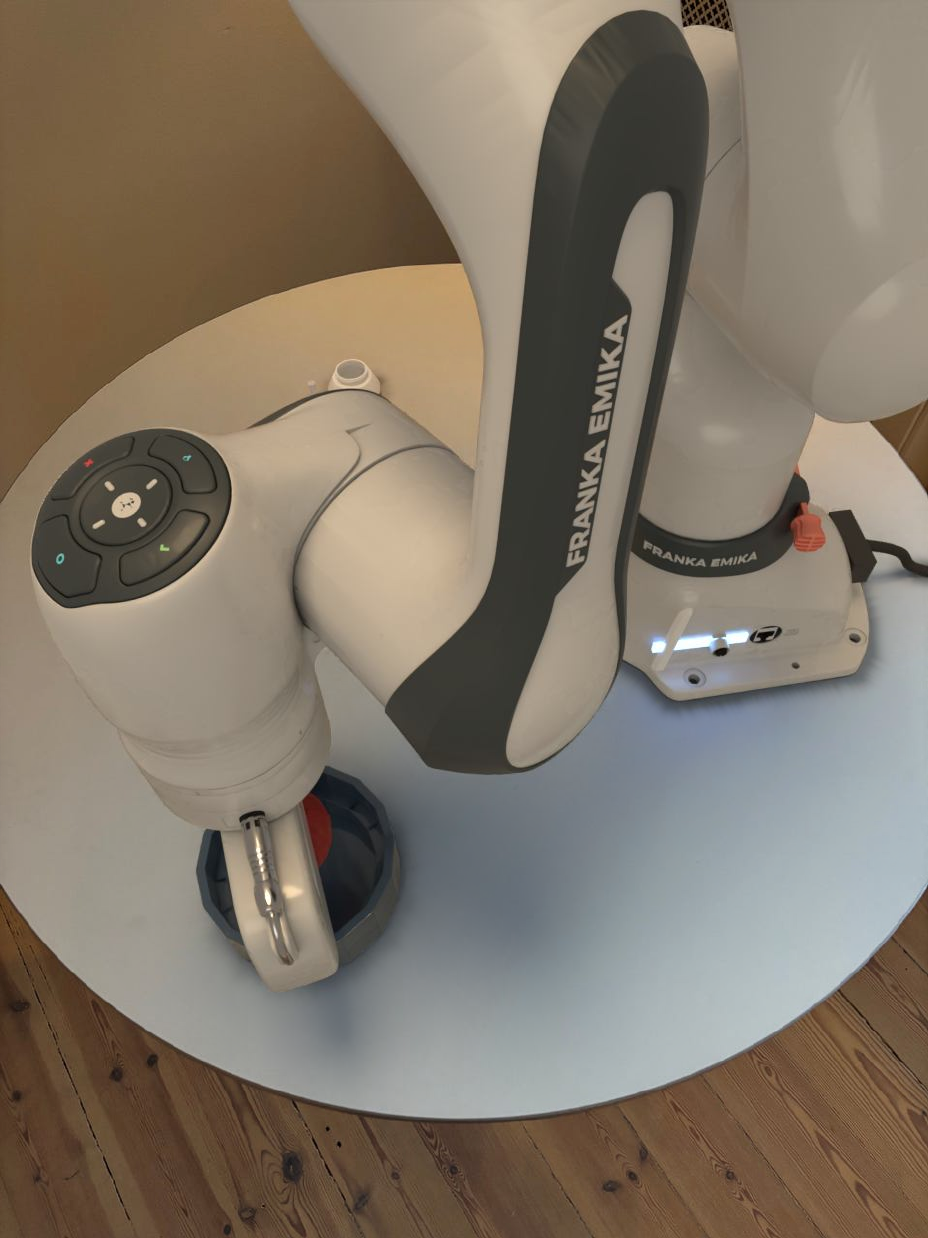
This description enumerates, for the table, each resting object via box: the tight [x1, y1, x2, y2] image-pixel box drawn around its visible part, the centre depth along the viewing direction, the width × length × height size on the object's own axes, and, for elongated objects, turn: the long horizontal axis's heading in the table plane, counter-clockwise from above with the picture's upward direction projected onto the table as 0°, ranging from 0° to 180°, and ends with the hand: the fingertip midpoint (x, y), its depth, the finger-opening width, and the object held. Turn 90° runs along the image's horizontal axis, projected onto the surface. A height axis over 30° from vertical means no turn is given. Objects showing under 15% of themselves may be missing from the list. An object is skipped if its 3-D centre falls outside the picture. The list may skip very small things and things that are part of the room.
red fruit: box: [302, 793, 332, 869], centre depth 54 cm, size 6×6×8 cm
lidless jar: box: [327, 358, 381, 395], centre depth 87 cm, size 5×3×5 cm
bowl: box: [195, 764, 402, 968], centre depth 59 cm, size 12×12×6 cm
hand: (284, 838), depth 54 cm, fingers closed on red fruit, 6 cm apart
